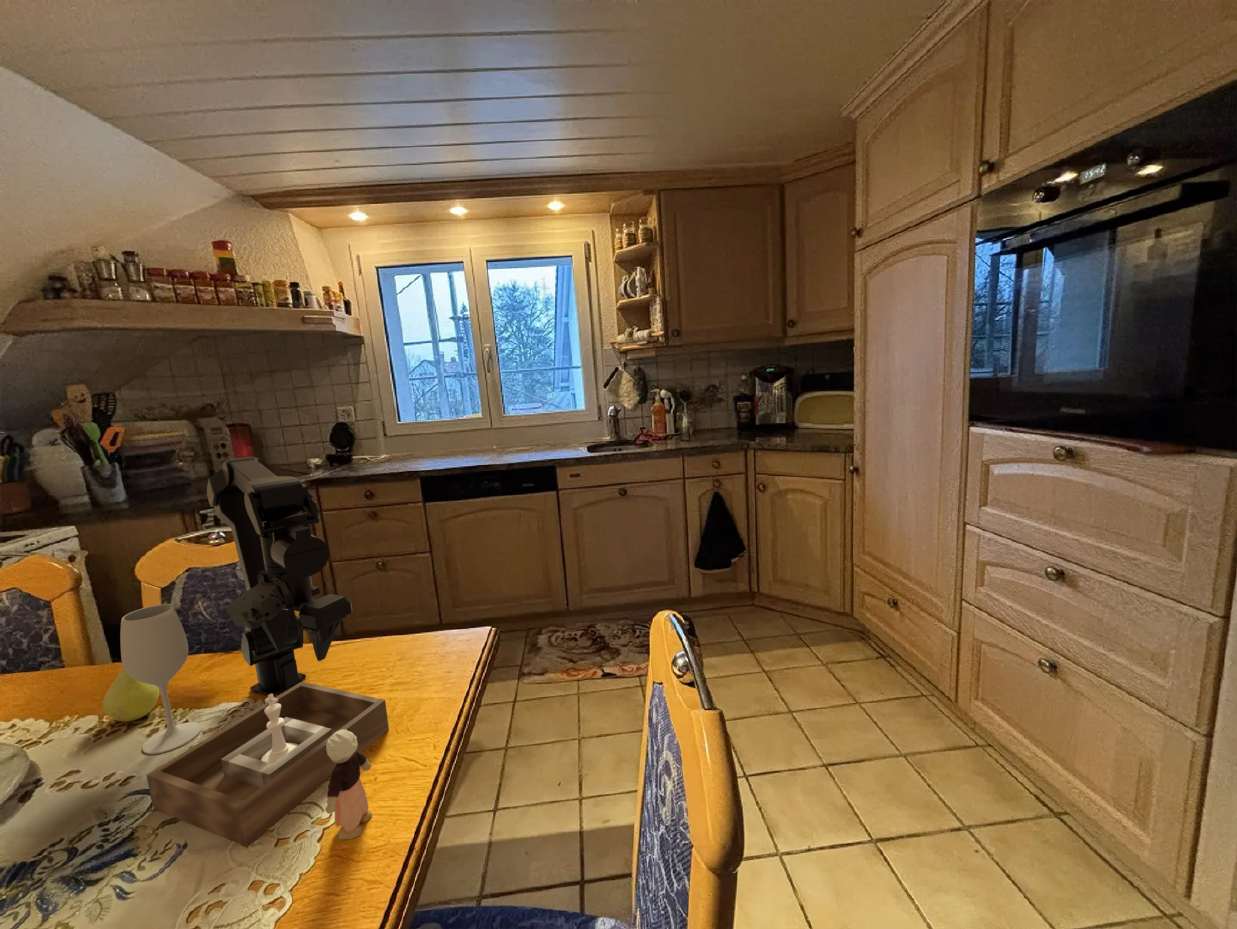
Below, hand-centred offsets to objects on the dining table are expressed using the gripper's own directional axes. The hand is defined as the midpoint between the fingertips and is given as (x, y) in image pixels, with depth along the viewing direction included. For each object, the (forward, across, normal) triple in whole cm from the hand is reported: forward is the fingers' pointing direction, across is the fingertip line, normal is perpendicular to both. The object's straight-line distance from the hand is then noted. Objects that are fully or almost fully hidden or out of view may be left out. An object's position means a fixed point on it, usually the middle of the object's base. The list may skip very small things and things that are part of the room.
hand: (300, 654), depth 83 cm
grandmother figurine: (+11, +24, -13) cm, 30 cm away
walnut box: (+12, +5, -9) cm, 15 cm away
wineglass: (+12, -18, -10) cm, 24 cm away
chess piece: (+11, +5, -9) cm, 15 cm away
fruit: (+12, -31, -8) cm, 34 cm away
